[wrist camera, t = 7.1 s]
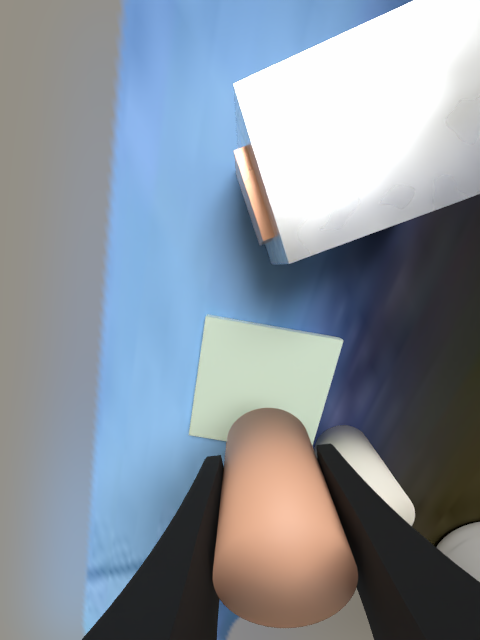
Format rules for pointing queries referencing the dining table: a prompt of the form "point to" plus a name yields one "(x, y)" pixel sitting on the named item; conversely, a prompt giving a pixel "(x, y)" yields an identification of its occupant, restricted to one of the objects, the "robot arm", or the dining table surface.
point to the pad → (260, 374)
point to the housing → (362, 129)
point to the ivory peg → (368, 467)
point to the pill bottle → (464, 548)
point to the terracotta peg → (279, 527)
